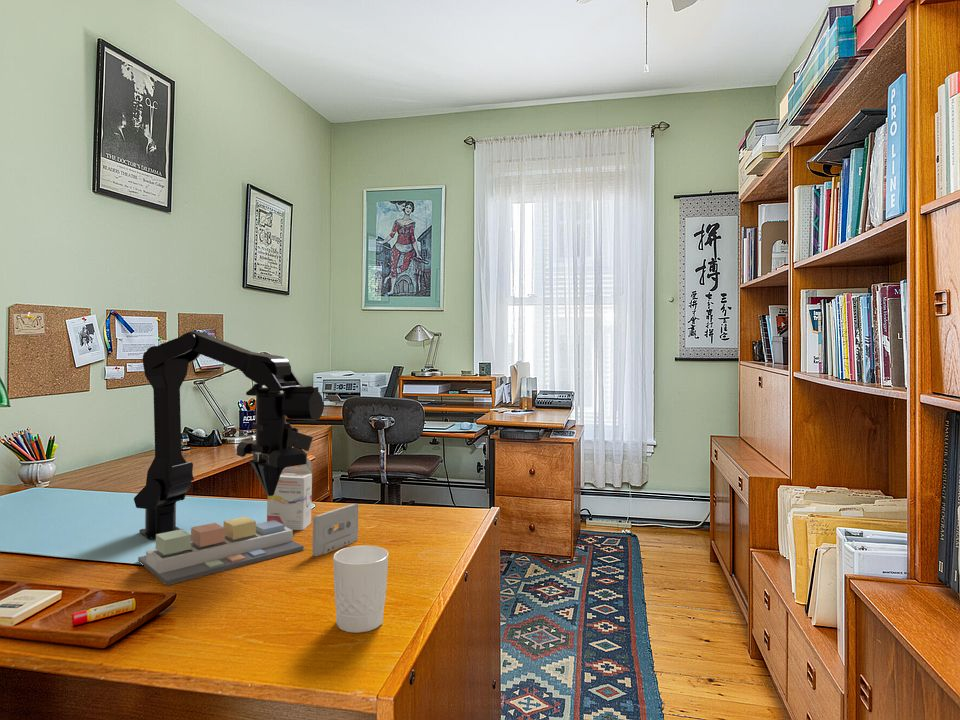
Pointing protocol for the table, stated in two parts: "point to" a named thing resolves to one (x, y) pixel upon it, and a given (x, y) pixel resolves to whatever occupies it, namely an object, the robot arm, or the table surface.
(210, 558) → the keypad base
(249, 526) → the key ochre
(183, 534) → the key sage
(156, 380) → the robot arm
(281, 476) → the ink cartridge box
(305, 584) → the table surface
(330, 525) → the cassette
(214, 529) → the key terracotta
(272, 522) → the key slate
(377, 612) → the white cup
